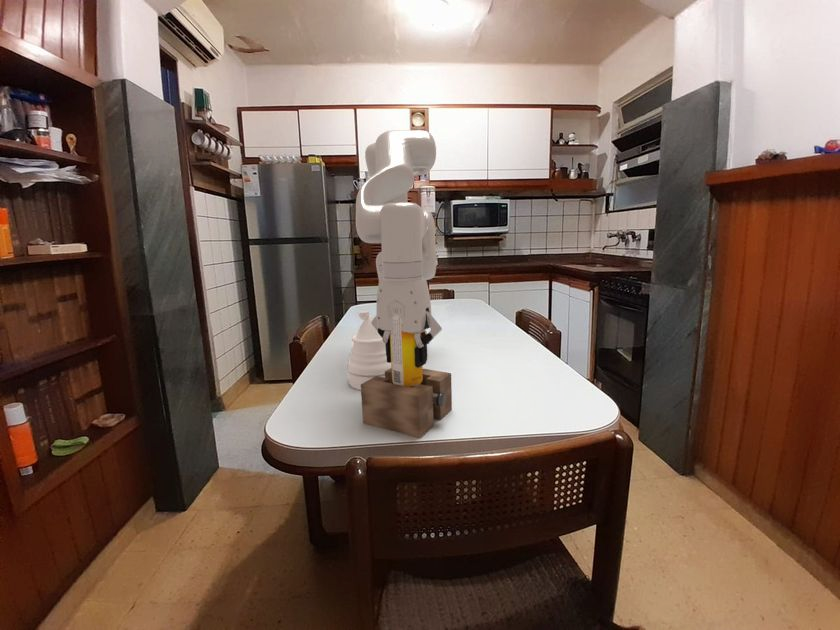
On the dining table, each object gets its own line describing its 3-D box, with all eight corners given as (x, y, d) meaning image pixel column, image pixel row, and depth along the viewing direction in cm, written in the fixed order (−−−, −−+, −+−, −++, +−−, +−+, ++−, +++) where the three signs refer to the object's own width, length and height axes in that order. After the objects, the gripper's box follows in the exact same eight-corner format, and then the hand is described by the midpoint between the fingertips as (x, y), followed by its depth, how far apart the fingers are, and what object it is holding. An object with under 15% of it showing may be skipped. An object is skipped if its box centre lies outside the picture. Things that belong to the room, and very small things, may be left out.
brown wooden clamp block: (363, 422, 79) (360, 384, 77) (399, 398, 90) (397, 364, 88) (420, 438, 72) (419, 396, 71) (451, 409, 83) (451, 373, 81)
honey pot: (361, 395, 92) (356, 318, 88) (341, 379, 103) (336, 310, 99) (410, 382, 99) (407, 311, 95) (385, 368, 109) (382, 304, 106)
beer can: (428, 381, 80) (426, 308, 77) (411, 392, 75) (409, 314, 72) (403, 376, 84) (400, 306, 81) (386, 386, 79) (382, 311, 76)
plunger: (415, 403, 78) (415, 391, 77) (422, 398, 80) (422, 386, 79) (440, 409, 75) (439, 396, 75) (446, 403, 77) (446, 391, 77)
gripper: (354, 272, 76) (359, 362, 80) (434, 274, 68) (436, 376, 71) (377, 268, 82) (381, 352, 86) (453, 270, 74) (454, 363, 78)
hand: (406, 362), depth 79 cm, fingers closed on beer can, 5 cm apart
